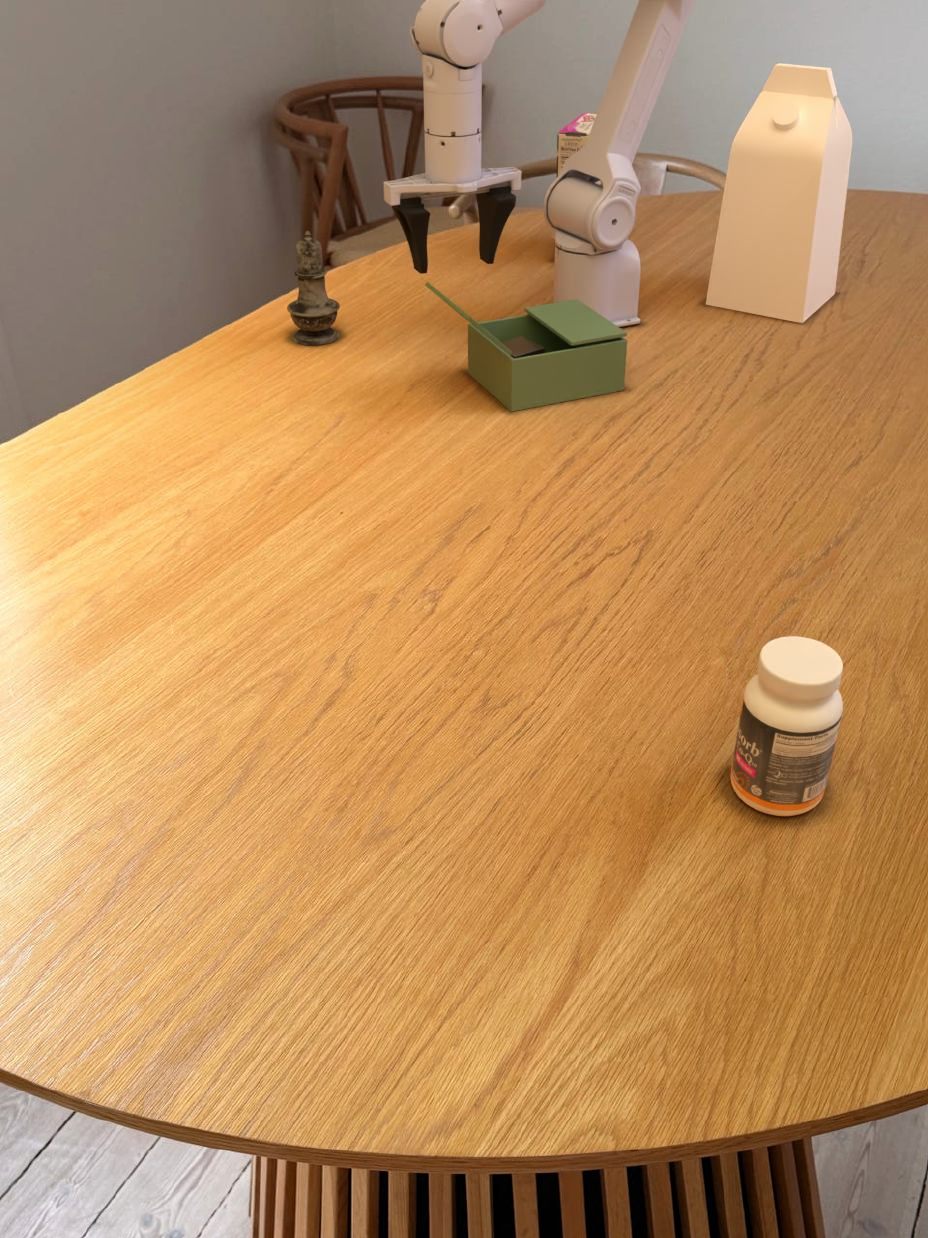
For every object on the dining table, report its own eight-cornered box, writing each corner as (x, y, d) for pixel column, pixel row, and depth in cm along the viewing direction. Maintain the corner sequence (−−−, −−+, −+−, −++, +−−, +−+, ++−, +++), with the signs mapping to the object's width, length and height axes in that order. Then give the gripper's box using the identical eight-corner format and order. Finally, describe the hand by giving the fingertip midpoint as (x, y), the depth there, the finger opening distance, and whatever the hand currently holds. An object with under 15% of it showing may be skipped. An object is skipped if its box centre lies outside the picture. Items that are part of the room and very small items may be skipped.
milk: (834, 293, 148) (873, 62, 133) (802, 323, 140) (839, 80, 125) (741, 277, 153) (769, 53, 139) (705, 304, 145) (730, 69, 131)
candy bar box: (575, 237, 168) (581, 111, 159) (610, 241, 166) (618, 114, 157) (551, 261, 159) (555, 129, 150) (588, 266, 158) (595, 133, 148)
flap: (512, 352, 117) (510, 355, 117) (468, 316, 125) (466, 319, 125) (469, 315, 113) (466, 319, 113) (426, 281, 121) (424, 284, 121)
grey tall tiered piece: (345, 328, 140) (339, 222, 133) (336, 347, 135) (329, 239, 128) (295, 326, 140) (286, 221, 134) (284, 345, 135) (274, 237, 129)
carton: (511, 411, 121) (512, 352, 117) (467, 372, 129) (467, 316, 125) (624, 390, 125) (628, 332, 121) (574, 353, 133) (577, 298, 129)
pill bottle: (718, 761, 77) (737, 632, 71) (807, 755, 77) (832, 627, 72) (743, 824, 72) (765, 691, 67) (837, 818, 73) (867, 685, 67)
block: (520, 372, 128) (520, 335, 126) (544, 384, 125) (545, 347, 123) (489, 381, 126) (490, 344, 124) (513, 393, 123) (514, 356, 121)
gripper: (399, 146, 115) (404, 286, 123) (536, 131, 120) (532, 267, 128) (374, 131, 121) (379, 266, 128) (505, 117, 126) (503, 248, 133)
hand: (454, 265), depth 129 cm, fingers open, 7 cm apart
